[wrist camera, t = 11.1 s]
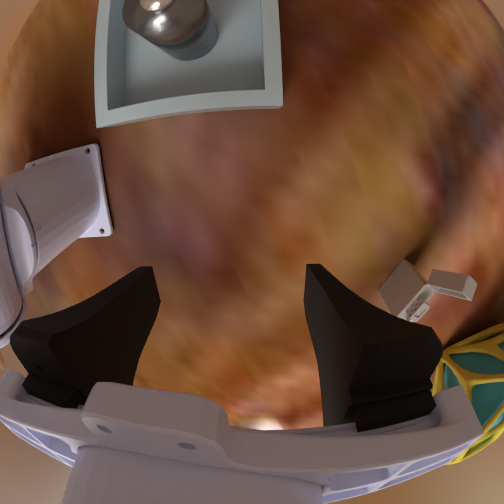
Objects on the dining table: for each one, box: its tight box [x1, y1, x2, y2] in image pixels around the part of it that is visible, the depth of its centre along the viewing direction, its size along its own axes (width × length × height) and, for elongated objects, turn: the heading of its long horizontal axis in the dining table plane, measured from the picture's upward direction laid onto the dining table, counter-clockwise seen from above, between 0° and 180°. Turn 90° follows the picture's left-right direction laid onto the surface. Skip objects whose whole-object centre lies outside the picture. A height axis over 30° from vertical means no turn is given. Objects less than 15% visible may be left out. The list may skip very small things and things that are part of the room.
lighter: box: [378, 259, 477, 322], centre depth 19 cm, size 7×2×8 cm, turn 150°
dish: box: [94, 0, 283, 128], centre depth 13 cm, size 12×12×4 cm
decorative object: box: [432, 323, 504, 464], centre depth 23 cm, size 23×23×15 cm
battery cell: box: [122, 0, 219, 61], centre depth 11 cm, size 4×4×8 cm
